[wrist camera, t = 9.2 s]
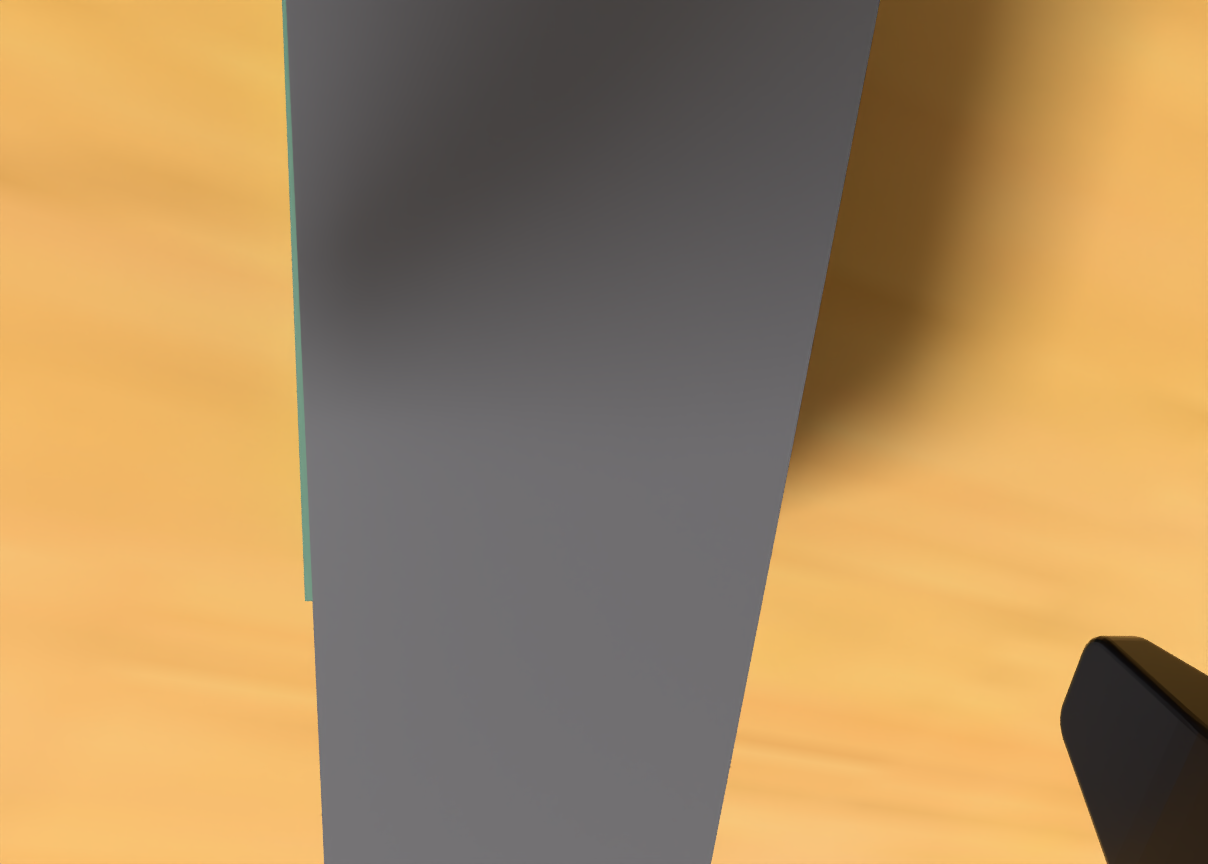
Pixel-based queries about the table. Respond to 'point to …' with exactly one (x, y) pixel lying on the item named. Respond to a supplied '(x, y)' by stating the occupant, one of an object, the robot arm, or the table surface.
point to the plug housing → (552, 401)
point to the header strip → (297, 332)
